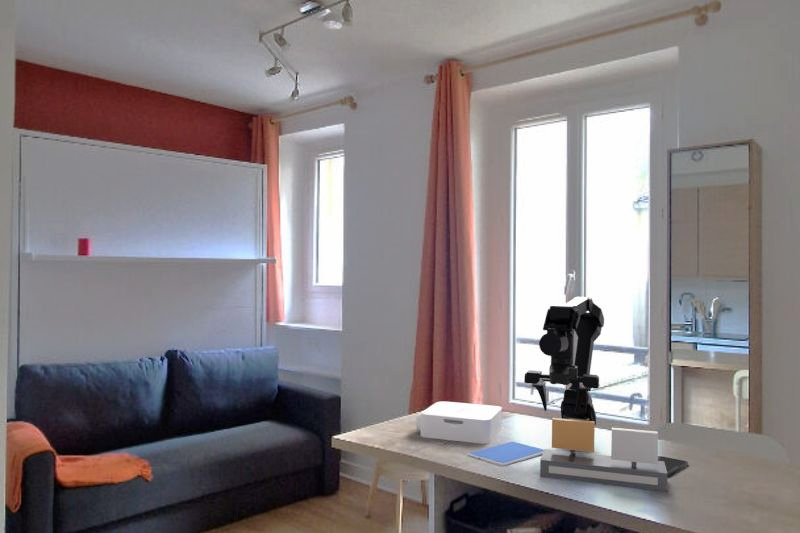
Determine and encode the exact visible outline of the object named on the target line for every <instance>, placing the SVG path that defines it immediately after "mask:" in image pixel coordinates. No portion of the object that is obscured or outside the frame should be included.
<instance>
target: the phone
mask: <svg viewBox="0 0 800 533" xmlns="http://www.w3.org/2000/svg"><path fill="white" fill-rule="evenodd" d="M658 461H664V463H665V466H666V470H667V478H671V477H672V476H673V475H675V474H677V473H678V472H680V471H682V470H684V469H685V468H686V467H688V466H689V462H688V461H686V460H684V459H683V460H682V459H678V458H676V459H675V458H673V457H672V458H671V457H667V456H662V455H658Z"/></svg>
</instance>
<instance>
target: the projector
mask: <svg viewBox="0 0 800 533" xmlns="http://www.w3.org/2000/svg"><path fill="white" fill-rule="evenodd" d="M502 413H503V407H502V406H499V405H490V404H479V403H477V404H475V403H469V402H467V403H465V402H457V401H456V402H455V401H454V402H453V401H443V400H442V401H437V402H435V403H433V404H431V405H430V406H428V407H427V408H426V409H424V410H423V411H421V412H419V413H418V414H417V416H416V420H415V424H416V425H415V428H416V430H417V431H420V437H422V438H426V439H427V438H429V439H436V440H437V439H438V440H445V441H447V440H448V441H452V442H453V441H454V442H456V441H457V442H464V443H470V444H471V443H474V444H491V443H492V442H493V440H494V439H495V438H496V437H497V436H498V434H499V433H500V432H501V431H502V423H503V422H502V421H503V420H502V417H503V414H502ZM500 430H501V431H500ZM496 435H497V436H496Z"/></svg>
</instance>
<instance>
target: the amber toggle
mask: <svg viewBox="0 0 800 533" xmlns="http://www.w3.org/2000/svg"><path fill="white" fill-rule="evenodd" d="M595 427H596V425H595V421H585V420H573V419H562V417H561V418H560V417H552V419H551V449H557V450H558V449H559V450H569V452H570V454H575V452H576V451H579V452H586V453H587V452H589V453H595V432H596V431H595V430H596V429H595Z"/></svg>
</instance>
